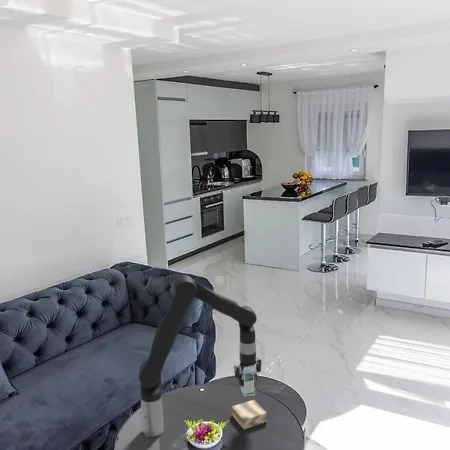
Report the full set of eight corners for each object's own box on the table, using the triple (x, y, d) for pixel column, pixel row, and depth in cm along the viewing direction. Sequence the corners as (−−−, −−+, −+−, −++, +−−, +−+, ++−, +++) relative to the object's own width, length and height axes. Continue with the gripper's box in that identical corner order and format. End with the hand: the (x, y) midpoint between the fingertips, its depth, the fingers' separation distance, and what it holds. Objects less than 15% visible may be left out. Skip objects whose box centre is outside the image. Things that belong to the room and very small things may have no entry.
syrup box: (244, 397, 209) (243, 367, 206) (240, 390, 215) (239, 361, 212) (256, 395, 211) (255, 366, 208) (252, 388, 216) (251, 359, 213)
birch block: (243, 430, 208) (243, 420, 207) (231, 415, 218) (231, 406, 217) (266, 422, 213) (266, 412, 212) (254, 408, 223) (253, 399, 222)
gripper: (239, 357, 202) (239, 392, 205) (265, 348, 209) (265, 382, 212) (229, 351, 208) (230, 384, 211) (255, 342, 215) (256, 375, 219)
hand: (248, 383), depth 212 cm, fingers closed on syrup box, 6 cm apart
